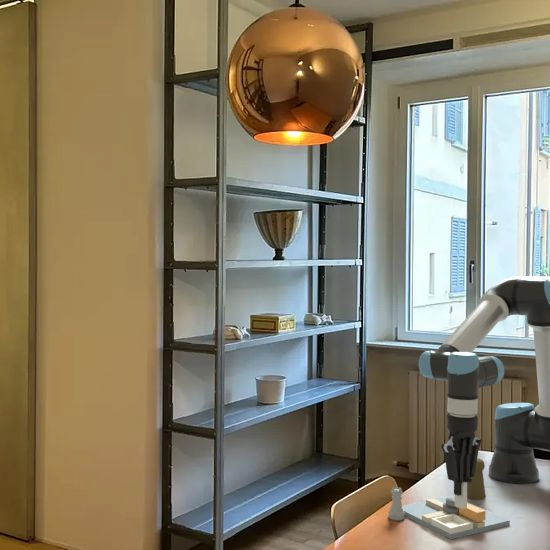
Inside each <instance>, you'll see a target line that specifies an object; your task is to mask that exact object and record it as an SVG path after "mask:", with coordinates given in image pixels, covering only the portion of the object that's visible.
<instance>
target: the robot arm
mask: <svg viewBox="0 0 550 550" xmlns="http://www.w3.org/2000/svg"><path fill="white" fill-rule="evenodd" d="M477 304H478V305H477V306H476V307H475V308H474V309H473V310H472V312H471V313H470V314H469V315H467V317H466V318H465V319H464V320H463V321H462V322H461V323H460V324H459V325H458V327H457V328H455V330H454V331H453V332H452V333H451V334H450V336H448V337H447V339H446V340H445V341H444V342H443V343H442V344H441V345H440V347H438V348H437V349H436V350H435V351H434V350H426V351H424V352H422V353H421V355H420V357H419V360H418V369H419V372H420V375H422V376H423V377H424V378H428V379H431V380H438V381H445V382H447V395H446V396H447V404H446V408H447V409H446V411H447V413H448V414H447V415H446V428H447V429H448V432H449V434H448V437H447V440H448V441H447V442H446V443H441V449H442V451H443V455H444V461H445V462H444V463H445V468H446V474H447V475H446V477H447V479H448V481H452V482H453V494H454V497H455V505H454V506H456V507H459V508H461V509H465V508H467V502H468V498H467V493H468V482H472V479H470V478H471V477H472V478H473V477H474V474H475V468H476V462H477V458H478V457H479V456H478V455H479V450H480V447H481V445H482V439H480V438H478V437H476V434H475V432H476V431H477V430H478V426H479V425H478V424H479V423H478V419H479V418H478V416H477V415H478V413H479V388H483V387H488V386H489V387H490V386H493V385H496V384H499V382H501V381H502V379H504V376H505V366H504V364H503V362H502V361H501V359H499V358H498V357H496V356H495V355H494V356H493V355H484V356H479V355H478V354H477V353H474V350H476V348H477V347H478V346H479V345H480V343H482V341H484V339H485V338H486V337H487V336H488V335H489V333H490V332H491V331H492V330H493V329H494V328H495V326H497V324H498V323H500V322H503V321H505V320H506V319H508V317H509V316H513V315H514V316H516V315H517V316H525V317H526V319H527V320H526V321H527V322H526V323H527V325H528V326H529V327H531V328H532V329H533V340H534V353H535V366H536V379H537V380H536V381H537V391H538V392H537V393H538V394H537V395H538V404H537V405H536V406H535V405H534V404H533V403H531V402H509V403H503V404H499V405H498V406H496V408H495V412H494V414H495V415H494V419H493V420H494V451H493V455H492V457H491V460H490V464H489V466H488V475H489V477H490V478H492V479H494V480H497V481H501V482H505V483H511V484H532V483H535V482H537V481H539V478H540V471H539V469H538V468H537V462H536V459H535V455H534V449H536V450H541V451H546V452H550V276H519V275H518V276H513V277H512V276H511V277H509V278H506V279H503V280H502V281H500V282H498V283H496V284H494V285H493V286H491V287H490V288H489V289H487V291H485V292H484V293H483V295H481V296H480V298H479V299H478V303H477Z"/></svg>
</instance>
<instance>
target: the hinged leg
mask: <svg viewBox="0 0 550 550" xmlns="http://www.w3.org/2000/svg"><path fill="white" fill-rule="evenodd" d="M468 503H469V502H468ZM468 503H467V508H465V509H461V508H459V507H456V506H454V505H455V496H454V497H448V498H446V505H447V506H449V507H453V508H458V509H459V514H461V515H463V516H465V517H467V518H469V519H472V520H474V521H476V522H480V521H484V520H485V513H486V511H485V510H486V509H484V510H482V509H483V508H482V509H480V508H481V507H480V508H478V507H479V506H478V507H475V506H476V505H475V506H473V505H474V504H473V505H471V504H472V503H471V504H468Z"/></svg>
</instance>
